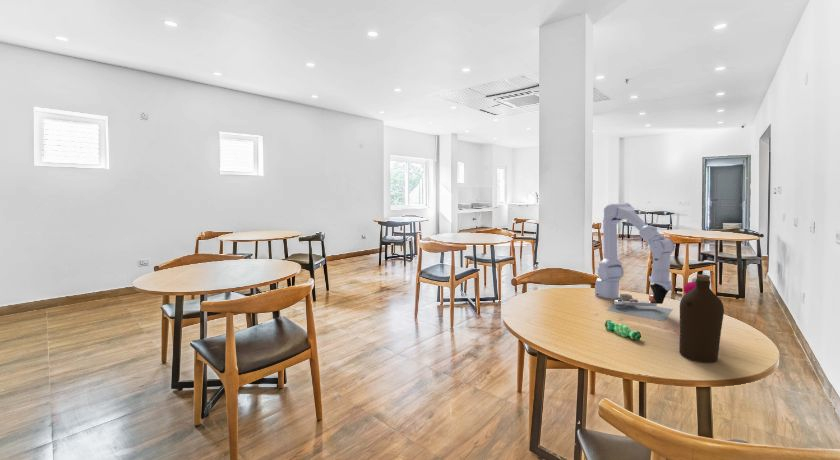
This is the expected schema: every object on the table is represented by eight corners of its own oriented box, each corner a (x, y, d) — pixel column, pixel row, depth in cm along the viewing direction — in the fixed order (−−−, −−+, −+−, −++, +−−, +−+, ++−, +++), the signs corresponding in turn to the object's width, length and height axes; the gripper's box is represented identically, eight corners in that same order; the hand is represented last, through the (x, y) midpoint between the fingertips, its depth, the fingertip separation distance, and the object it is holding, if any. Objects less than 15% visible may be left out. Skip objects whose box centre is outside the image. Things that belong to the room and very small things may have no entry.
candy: (602, 327, 136) (608, 317, 137) (608, 331, 137) (614, 321, 138) (631, 339, 125) (637, 329, 125) (637, 344, 126) (643, 333, 126)
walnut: (623, 304, 159) (623, 296, 159) (625, 302, 162) (626, 295, 162) (632, 306, 157) (633, 298, 157) (634, 304, 160) (635, 296, 159)
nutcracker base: (606, 313, 153) (606, 301, 153) (619, 302, 166) (619, 292, 166) (663, 324, 140) (664, 312, 139) (672, 312, 153) (673, 300, 152)
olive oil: (718, 367, 106) (724, 281, 104) (673, 356, 114) (678, 276, 111) (721, 355, 114) (728, 274, 111) (680, 345, 121) (684, 269, 118)
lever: (615, 305, 154) (616, 295, 154) (612, 302, 158) (612, 293, 158) (659, 306, 152) (659, 296, 151) (654, 303, 156) (654, 293, 155)
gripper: (682, 273, 139) (679, 309, 141) (662, 265, 154) (660, 298, 155) (661, 273, 140) (659, 308, 142) (644, 265, 155) (642, 297, 156)
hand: (658, 303), depth 149 cm, fingers closed
